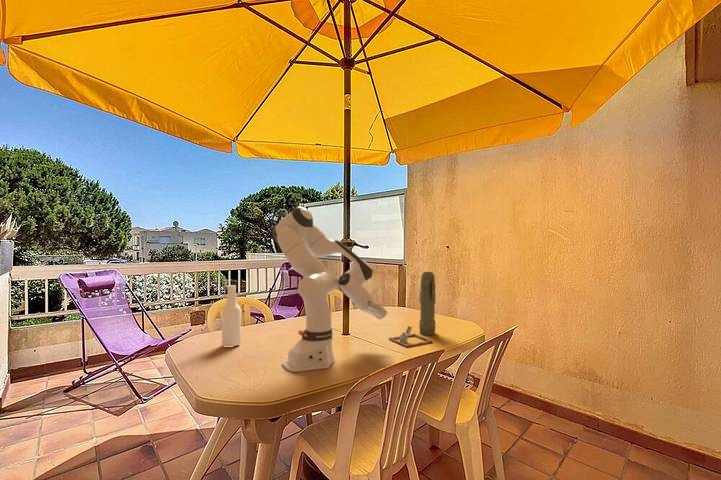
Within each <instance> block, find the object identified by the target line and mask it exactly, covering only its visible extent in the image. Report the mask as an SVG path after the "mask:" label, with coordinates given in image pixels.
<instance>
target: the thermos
mask: <svg viewBox="0 0 721 480" xmlns="http://www.w3.org/2000/svg"><path fill="white" fill-rule="evenodd" d="M435 280H436V277H435V274H434V273H433V272H432V271H424V272H422V274H421V277H420V293H419V303H420V319H419V325H418V327H419V334H420V335H422V336H434V334H436V320H435V313H436V311H435V310H436V309H435V306H436V305H435V304H436V297H437V295H436V281H435Z"/></svg>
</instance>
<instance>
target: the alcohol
mask: <svg viewBox="0 0 721 480" xmlns="http://www.w3.org/2000/svg"><path fill="white" fill-rule="evenodd" d="M236 287H237V285H235V284H230V285H227V296H226V303H225V305H224V306H223V307H222V311H221V346H222V345H223V346H237V345H239V344H240V345H241V343H242V309H241V306H240V305H239V304H238V300H237V292H236V291H237V288H236ZM240 345H239V346H240ZM223 346H222V347H223Z"/></svg>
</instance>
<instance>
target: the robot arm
mask: <svg viewBox="0 0 721 480" xmlns="http://www.w3.org/2000/svg"><path fill="white" fill-rule="evenodd" d="M272 237H273V239H274V241H275V242H276V243H277V244H278V246H279V248H280V250H281V251H282V254H283V255H284V257H285V258H286V259H287V261H288V262H289V264H290V266H291V267H292V269H293V270H294V271H295V272H297V273H298V274H300V275H301V276H302V277H303V278H301V279H300V281H299V282H298V285H297V292H298V294H299V295H300V297H301V298H302V300H303V304H304V309H305V329H304V331H303V330H302V329H298V331H297V333H298V335H299V336H301V338H300V339H299V340H298V341H297V342H296V343H295V344H294V345H292V346H291V347H290V348H289V350H288V353H287V354H288V355H287V358H284V359H283V360H282V366H283V368H284V369H286V370H287V371H289V372H292V373H296V372H305V371H306V372H307V371H313V370H322V369H329V368H330V367H331V365H333V364H334V363H335V361H336V360H335V356H334V352H333V343H332V341H333V328H332V310H331V309H330V306H329V303H328V296H329V295H331V294H332V293H334V291H335V290H336V289H337V288H338V289H339V290H340V291H341V292H342V293H343V295H345V296H346V297H347V298H349V299H351V300H350V303H351V304H352V305H353V306H355V307H356V308H358V309H359V310H360V311H361V312H364V313H367V314H369V315H372V316H374V317H375V318H376V319H378V320H382V319H384V318H385V317H386V316H387V314H388V311H387V310H386V308H385V307H383V306H382V305H381V304H380V303H379V302H375V301H373V299H374V297H373V295H372V294H371V293H370V292H369V291H368V290H367V289H366V288H364V287H363V284H364V283H366V282H367V281H368V280H370V279H372V277H373V274H374V273H373V272H374V270H373V267H372V266H371V264H370V263H368V262H367V261H365V260H363V259H362V258H361V257H359V256H358V255H357V254H356V253H355V252H353V250H351V249H350V248H349V247H347V246H346V245H345V244H344V243H342V241H340V240H338V239H331V238H330V237H328V236H327V235H326V234H325V233H324V232H323V231H322V230H321V229H320V227H318V226H317V225H316V224H315V223H314V219H313V214H312V213H311V212H310V210H309V209H307V208H306V207H304V206H297V207H295V208H294V209H292V211H291V212H289V213H288V214H287V215H285V216H284V217H283V218H282V219H281V220H280V221H279V222H278V223H277V225H275V227H274V228H273V230H272ZM334 254H342V255H343V256H344V257H346V258H347V259H348V260H349V261H351V262H352V263H353V266H352V267H350V268H349V269H348V270H347V271H345V272H344V273H342V275H340V276H339V277H337V275H336V274H334V273H333V272H331V271H330V269H328V268H327V266H325V265H324V264H323V263H322V262H321V261H320V260H319V259H318V258H325V257H328V256H332V255H334ZM317 257H318V258H317Z"/></svg>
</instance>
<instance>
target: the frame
mask: <svg viewBox="0 0 721 480" xmlns="http://www.w3.org/2000/svg"><path fill="white" fill-rule="evenodd" d="M411 337H414V338H416V339H420V340H422V341H420V342H416V343H414V342H413V343H409V344H407V343H402V342H400V335H399V336H394V337H389V338H388V341H391V342H392V343H395V344H397V345H399V346H401V347H404V348H406V349H407V348H412V347H418V346H422V345H423V346H424V345H428V344H432V343H433V340H431V339H428V338H426V337H424V336H421V335H418V334H415V333H410V335H408V337H407V338H411Z"/></svg>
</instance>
